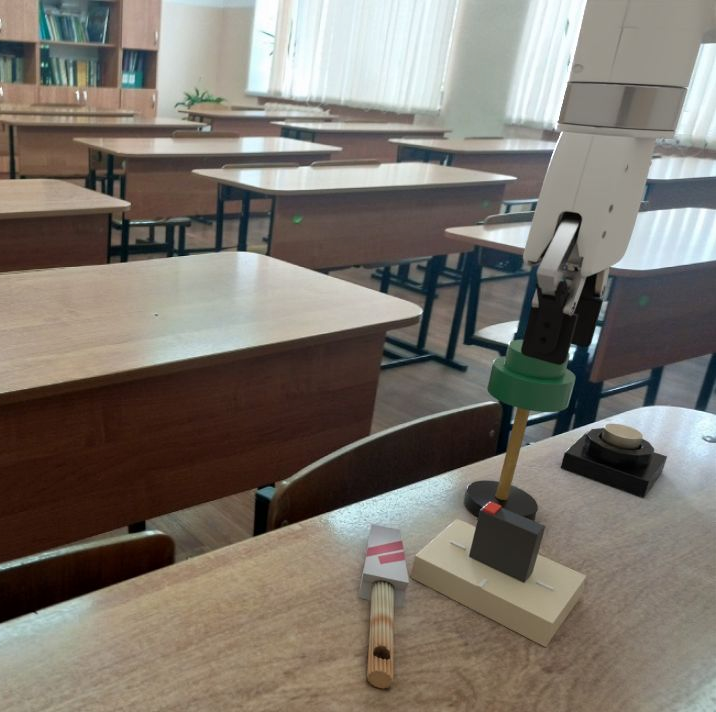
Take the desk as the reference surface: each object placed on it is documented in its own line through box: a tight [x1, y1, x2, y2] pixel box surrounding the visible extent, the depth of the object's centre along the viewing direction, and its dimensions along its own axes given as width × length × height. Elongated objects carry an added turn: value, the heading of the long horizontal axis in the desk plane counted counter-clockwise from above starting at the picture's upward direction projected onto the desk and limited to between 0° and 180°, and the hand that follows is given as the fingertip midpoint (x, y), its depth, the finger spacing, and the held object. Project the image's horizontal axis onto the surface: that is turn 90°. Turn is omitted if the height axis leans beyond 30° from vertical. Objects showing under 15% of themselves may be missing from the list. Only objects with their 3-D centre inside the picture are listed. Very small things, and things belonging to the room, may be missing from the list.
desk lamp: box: [463, 339, 577, 522], centre depth 76 cm, size 8×8×19 cm
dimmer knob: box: [469, 502, 546, 582], centre depth 65 cm, size 5×2×5 cm, turn 46°
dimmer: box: [410, 518, 588, 648], centre depth 66 cm, size 12×9×3 cm
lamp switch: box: [560, 427, 668, 499], centre depth 89 cm, size 9×9×4 cm
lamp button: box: [601, 423, 643, 450], centre depth 88 cm, size 4×4×2 cm
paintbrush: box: [357, 523, 410, 689], centre depth 64 cm, size 4×3×20 cm
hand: (556, 348), depth 59 cm, fingers open, 5 cm apart
